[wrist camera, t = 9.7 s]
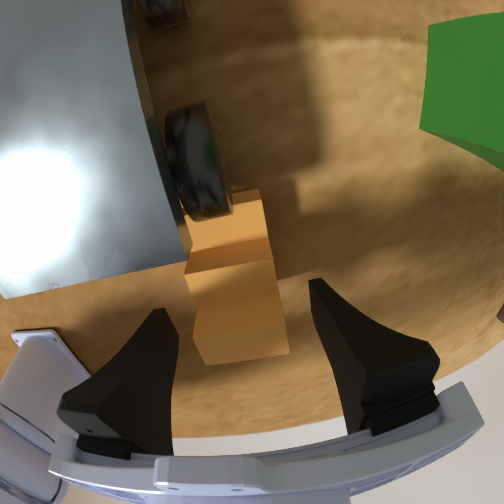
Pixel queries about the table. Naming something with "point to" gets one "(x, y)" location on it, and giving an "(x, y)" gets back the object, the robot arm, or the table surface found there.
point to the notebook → (501, 314)
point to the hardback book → (467, 85)
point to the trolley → (95, 148)
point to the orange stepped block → (235, 286)
